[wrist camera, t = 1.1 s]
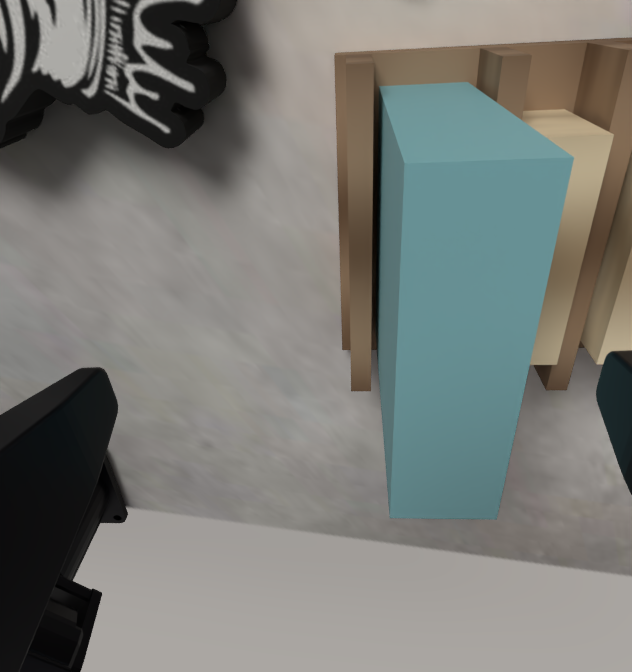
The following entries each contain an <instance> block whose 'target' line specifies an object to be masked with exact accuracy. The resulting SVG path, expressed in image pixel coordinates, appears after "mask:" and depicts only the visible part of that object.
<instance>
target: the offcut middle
mask: <svg viewBox="0 0 632 672" xmlns="http://www.w3.org/2000/svg"><path fill="white" fill-rule="evenodd" d="M522 121H524V122H525V123H526V124H528V125H529V126H531V127H532V128H533V129H535V130H536V131H538V132H539V133H540V134H542V135H543V136H545V137H546V138H548V139H549V140H550V141H552V142H553V143H555V144H556V145H557V146H559V147H560V148H562V149H563V150H565V151H566V152H567V153H569V154H570V155H572V156H573V157H574V161H573V165H572V170H571V175H570V179H569V184H568V189H567V193H566V198H565V203H564V207H563V212H562V217H561V221H560V226H559V231H558V235H557V240H556V245H555V249H554V254H553V259H552V263H551V268H550V273H549V277H548V282H547V287H546V291H545V296H544V301H543V305H542V310H541V315H540V319H539V324H538V329H537V333H536V338H535V343H534V347H533V352H532V357H531V361H530V365H557V362H558V358H559V354H560V350H561V346H562V342H563V338H564V334H565V330H566V326H567V322H568V318H569V314H570V310H571V306H572V302H573V298H574V294H575V290H576V286H577V282H578V278H579V274H580V270H581V266H582V262H583V258H584V253H585V249H586V245H587V241H588V237H589V233H590V229H591V225H592V221H593V217H594V213H595V209H596V205H597V201H598V197H599V193H600V189H601V185H602V181H603V177H604V173H605V169H606V165H607V161H608V157H609V153H610V149H611V145H612V141H613V137H614V134H612V133H610V132H608V131H606V130H604V129H602V128H600V127H598V126H596V125H594V124H592V123H591V122H589V121H587V120H585V119H583V118H581V117H579V116H577V115H575V114H573V113H571V112H569V111H567V110H565V109H559V110H535V111H523V117H522Z"/></svg>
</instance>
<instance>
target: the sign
mask: <svg viewBox="0 0 632 672" xmlns="http://www.w3.org/2000/svg"><path fill="white" fill-rule="evenodd" d="M236 3H237V0H0V148H3V147H5V146H7V145H10V144H12V143H14V142H17V141H19V140H21V139H24V138H25V136H26V134H27V133H26V132H29V131H31V130H33V129H36V128H38V127H39V126H40V124H41V122H42V119H43V113H44V109H45V108H46V107H47V106H48V105H50V104H52V103H53V102H54V101H55V99H57V100H59V101H61V102H63V103H65V104H69V105H71V104H75V105H77V106H78V107H79V108H80V109H81V110H83V111H84V112H85V113H87V114H97V113H100V112H102V111H105V110H107V111H109V112H110V113H111V114H113V115H114V116H115V117H116V118H118V119H119V120H120V121H122V122H123V123H125V124H126V125H128V126H129V127H131V128H133V129H135V130H136V131H138V132H140V133H142V134H143V135H145V136H147V137H148V138H150V139H151V140H153V141H154V142H156V143H157V144H159V145H160V146H162V147H165V148H174V147H177V146H179V145H180V144H181V143H183V142H184V141H185V140H186V139H187V138H188V137H190V136H191V135H192V134H193V133H194V132H195V131H196V130H198V129H199V128H200V127H201V126H202V124H203V122H204V116H203V111H202V109H201V108H202V107H204V106H205V105H207V104H208V103H209V102H211V101H212V100H213V99H215V98H216V97H217V96H219V95H220V94H221V93H222V92H223V91H224V89H225V87H226V74H225V71H224V68H223V67H222V65H221V64H220V63H219V62H218V61H216V60H214V59H212V58H210V57H207V56H206V52H207V50H208V48H209V44H208V38H207V35H206V32H205V31H204V29H203V28H202V26H200V25H199V24H201V25H203V24H208V23H214V22H219V21H220V20H221V19H225V18H227V17H228V16H229V15H230V14H231V13H232V11H233V10H234V8H235V6H236Z"/></svg>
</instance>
